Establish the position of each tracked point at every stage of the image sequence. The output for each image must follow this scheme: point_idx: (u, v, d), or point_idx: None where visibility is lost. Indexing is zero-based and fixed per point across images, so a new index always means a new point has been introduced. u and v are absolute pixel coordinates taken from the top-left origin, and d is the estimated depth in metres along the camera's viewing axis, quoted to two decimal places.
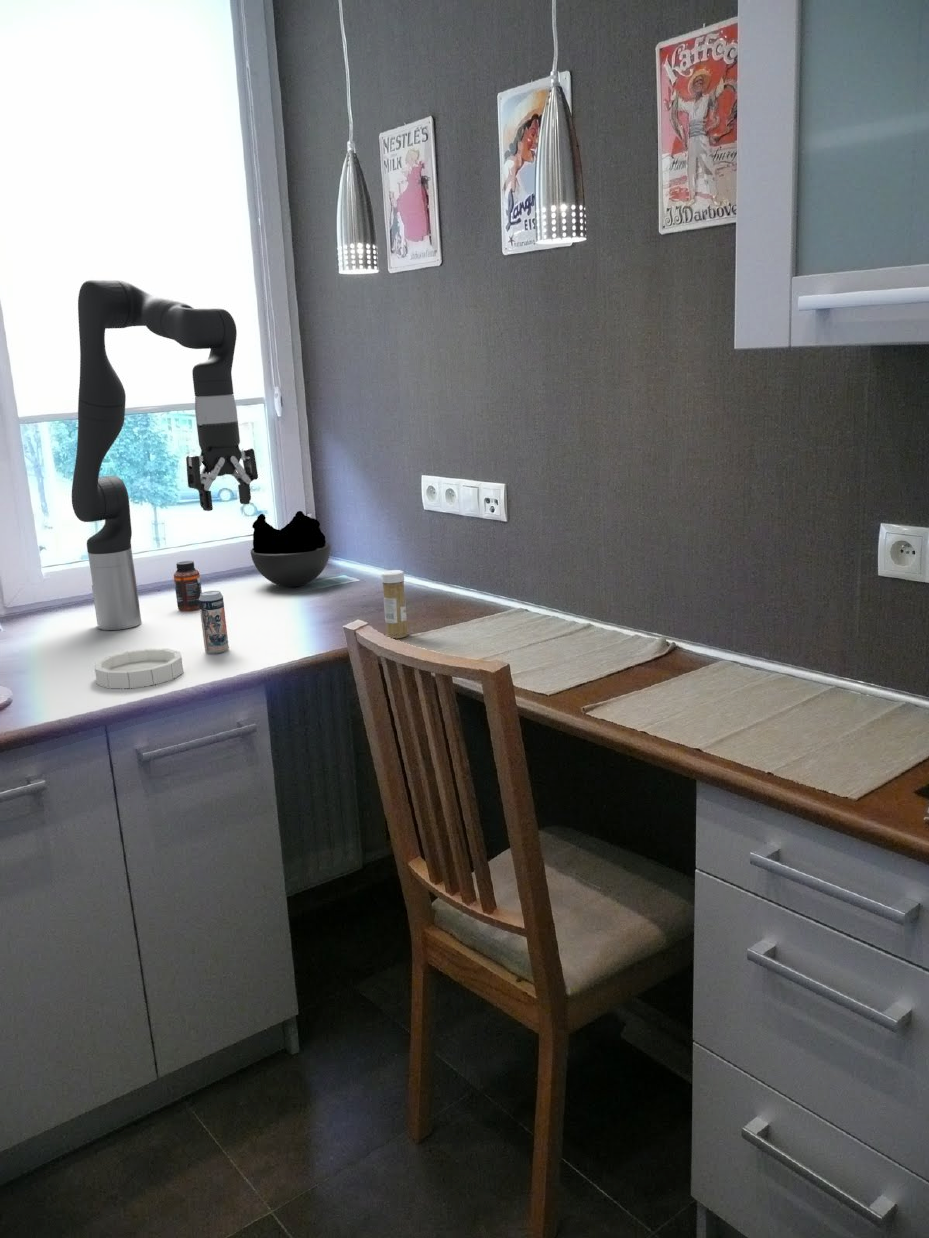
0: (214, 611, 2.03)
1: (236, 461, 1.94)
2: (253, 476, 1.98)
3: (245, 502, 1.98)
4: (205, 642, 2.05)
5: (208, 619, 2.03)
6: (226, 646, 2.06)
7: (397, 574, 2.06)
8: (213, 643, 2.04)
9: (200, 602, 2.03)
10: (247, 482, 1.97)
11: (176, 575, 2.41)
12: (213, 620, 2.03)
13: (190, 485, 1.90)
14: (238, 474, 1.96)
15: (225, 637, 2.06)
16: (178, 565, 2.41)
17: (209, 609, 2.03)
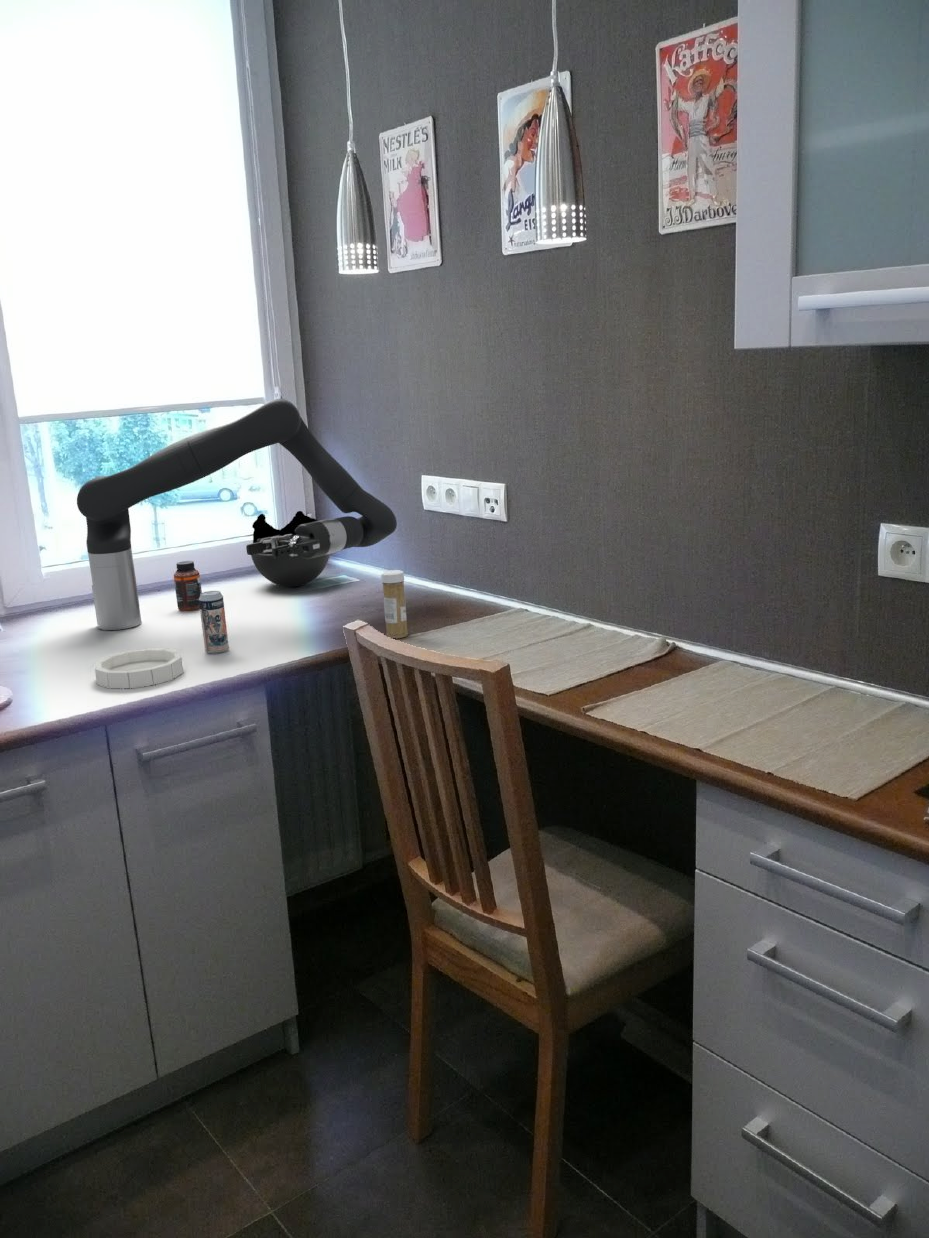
0: (214, 611, 2.03)
1: None
2: None
3: (250, 553, 2.15)
4: (205, 642, 2.05)
5: (208, 620, 2.03)
6: (226, 646, 2.06)
7: (397, 574, 2.06)
8: (213, 643, 2.04)
9: (200, 602, 2.03)
10: (263, 552, 2.18)
11: (176, 575, 2.41)
12: (213, 620, 2.03)
13: (301, 547, 2.11)
14: None
15: (225, 637, 2.06)
16: (178, 565, 2.41)
17: (209, 609, 2.03)
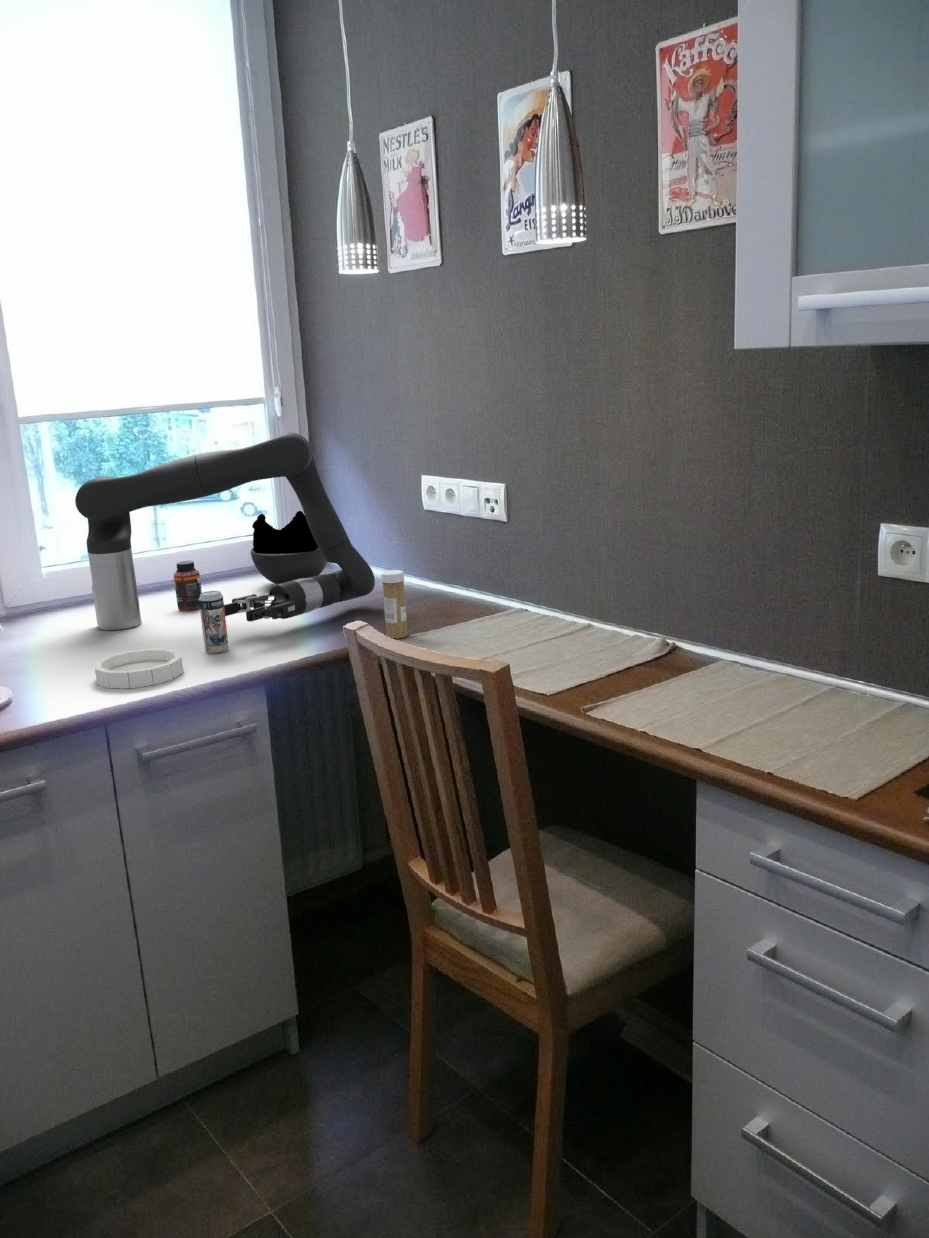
0: (214, 611, 2.03)
1: None
2: None
3: None
4: (205, 642, 2.05)
5: (208, 620, 2.03)
6: (226, 646, 2.06)
7: (397, 574, 2.06)
8: (213, 643, 2.04)
9: (200, 602, 2.03)
10: (238, 612, 2.15)
11: (176, 575, 2.41)
12: (213, 620, 2.03)
13: (275, 610, 2.08)
14: (249, 610, 2.16)
15: (225, 637, 2.06)
16: (178, 565, 2.41)
17: (209, 609, 2.03)
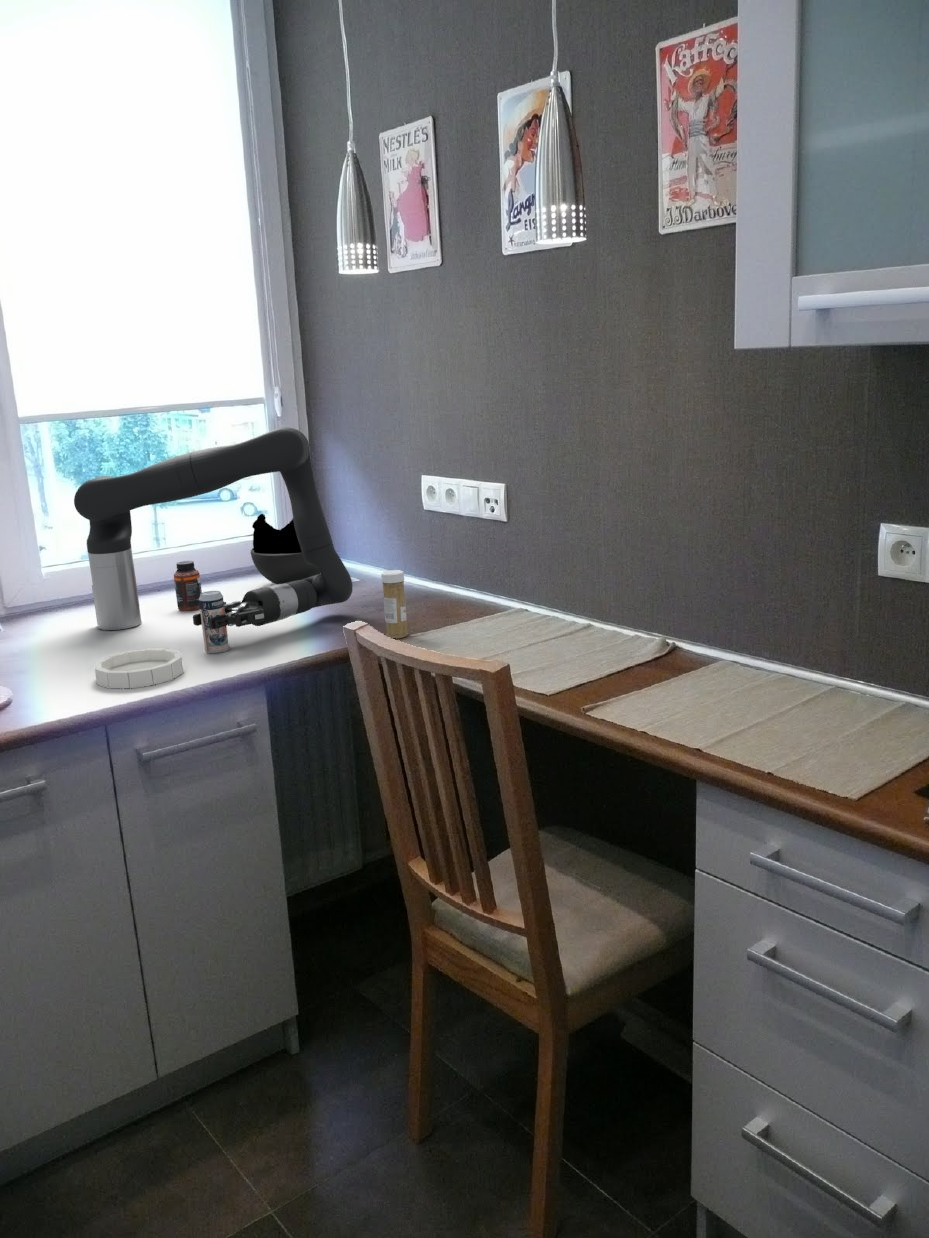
0: (214, 611, 2.03)
1: None
2: None
3: (197, 623, 2.05)
4: (205, 642, 2.05)
5: (208, 619, 2.03)
6: (226, 646, 2.06)
7: (397, 574, 2.06)
8: (213, 643, 2.04)
9: (200, 602, 2.03)
10: None
11: (176, 575, 2.41)
12: None
13: (239, 617, 2.03)
14: None
15: (225, 637, 2.06)
16: (178, 565, 2.41)
17: (209, 609, 2.03)
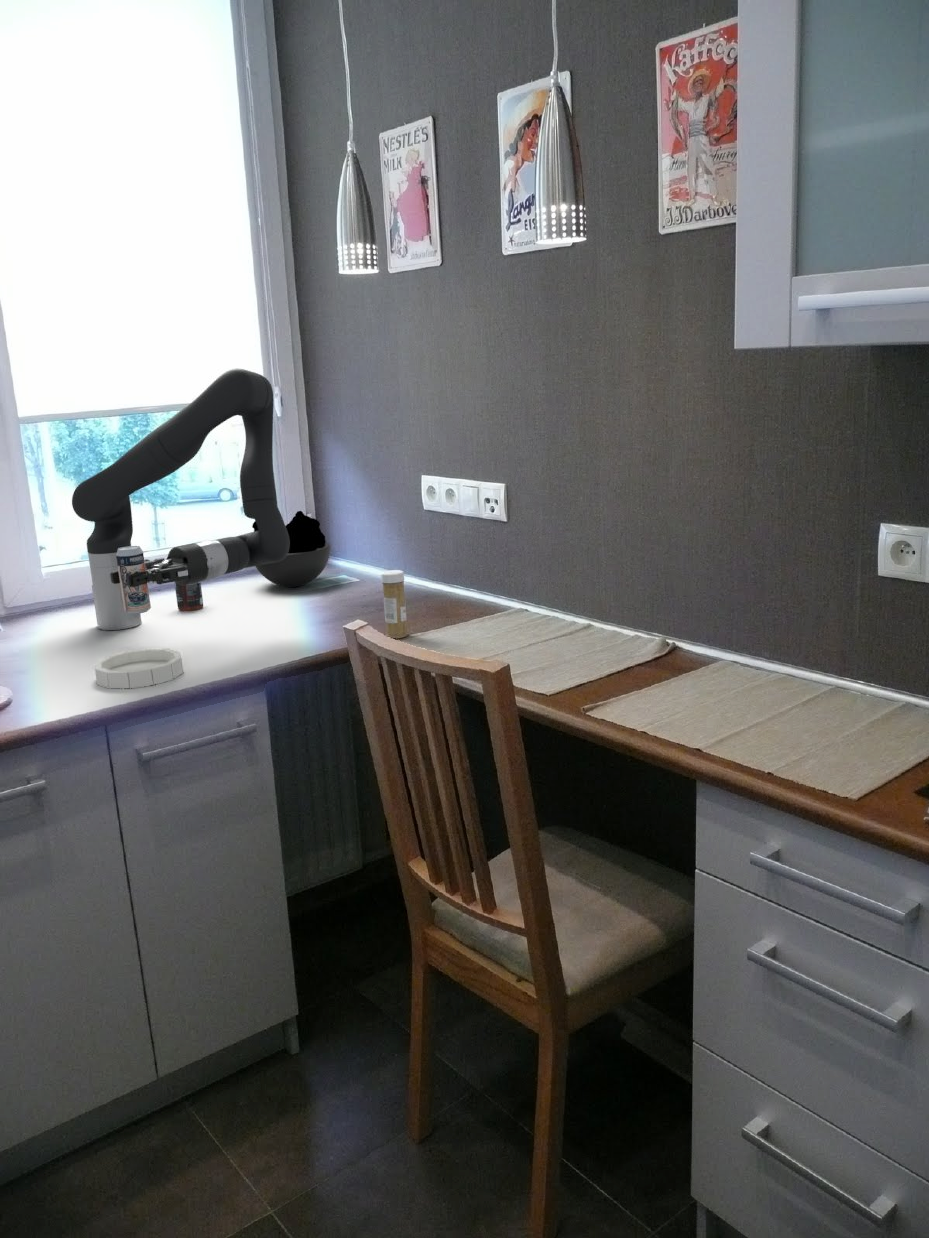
0: (133, 567, 1.87)
1: None
2: None
3: (115, 581, 1.90)
4: (124, 601, 1.89)
5: None
6: (147, 606, 1.90)
7: (397, 574, 2.06)
8: (132, 602, 1.88)
9: (117, 558, 1.87)
10: None
11: None
12: None
13: (160, 574, 1.88)
14: None
15: (146, 596, 1.90)
16: None
17: (127, 565, 1.87)
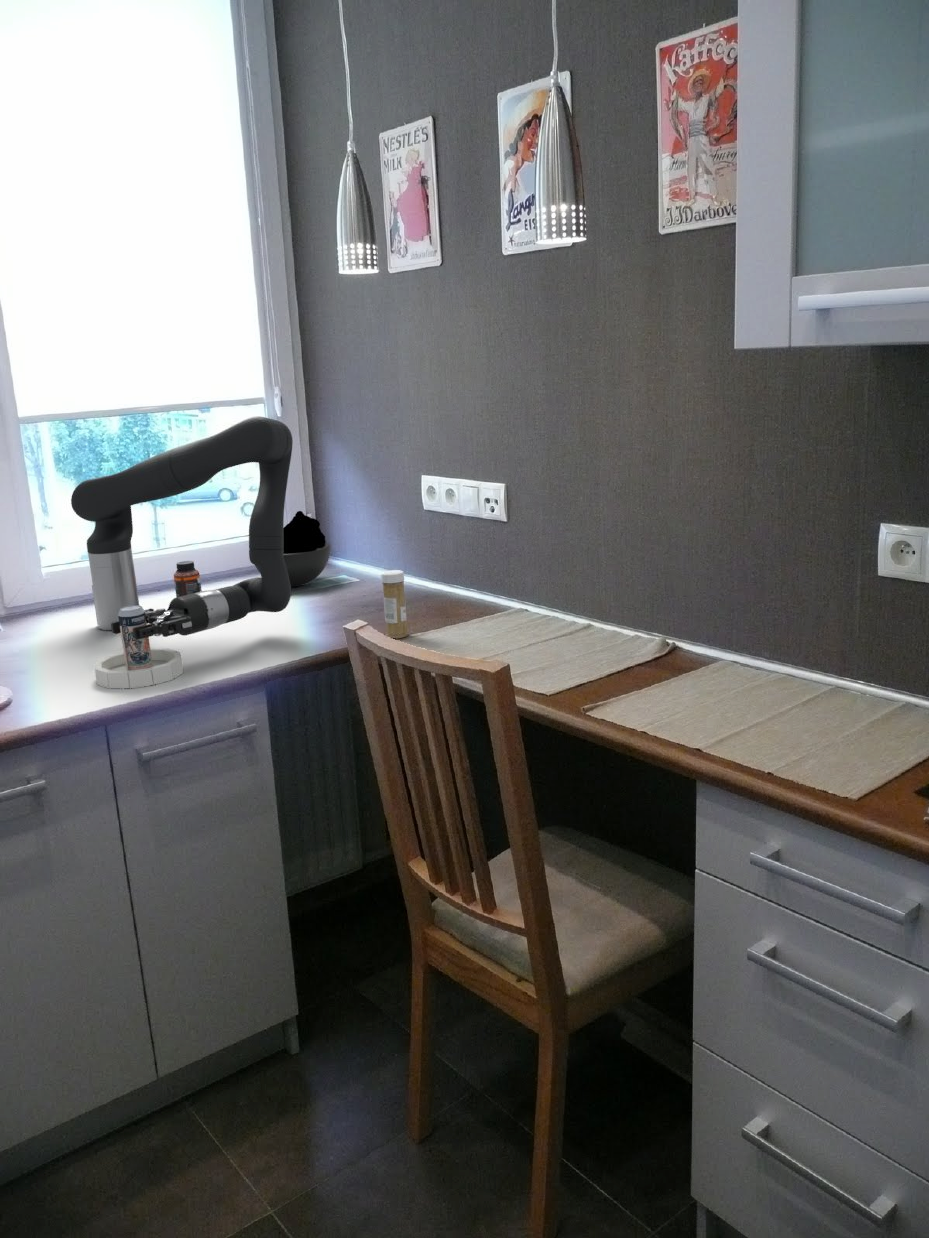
0: (134, 627, 1.89)
1: None
2: None
3: (115, 631, 1.92)
4: (126, 660, 1.91)
5: (128, 636, 1.89)
6: (149, 664, 1.92)
7: (397, 574, 2.06)
8: (134, 661, 1.91)
9: (119, 618, 1.89)
10: None
11: (176, 575, 2.41)
12: None
13: (166, 627, 1.89)
14: None
15: (148, 655, 1.92)
16: (178, 565, 2.41)
17: (129, 625, 1.89)
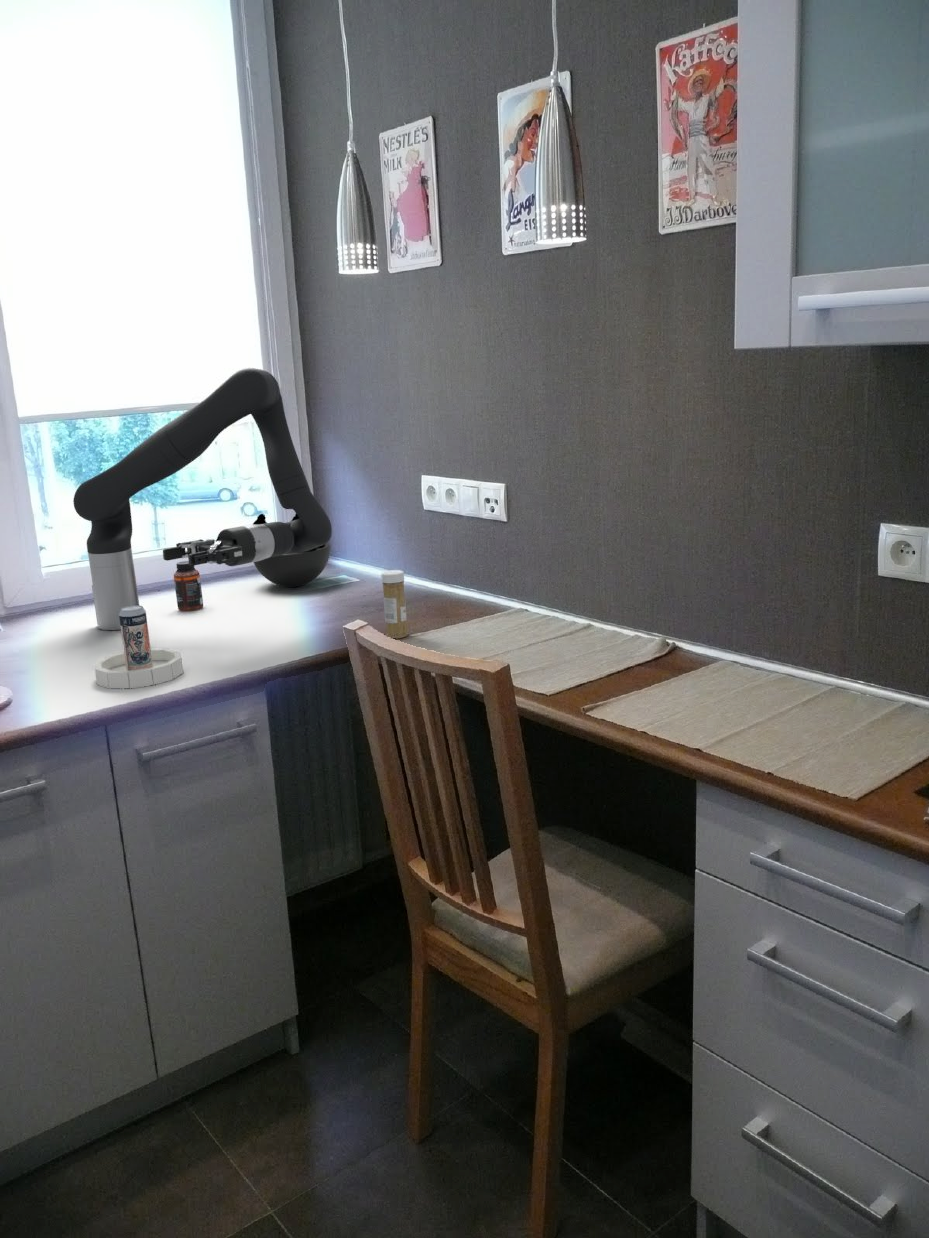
0: (135, 627, 1.89)
1: None
2: None
3: (167, 558, 1.99)
4: (126, 660, 1.91)
5: (129, 636, 1.89)
6: (149, 665, 1.92)
7: (397, 574, 2.06)
8: (135, 661, 1.91)
9: (120, 618, 1.89)
10: (182, 557, 2.03)
11: (176, 575, 2.41)
12: (134, 637, 1.89)
13: (220, 555, 1.95)
14: None
15: (148, 655, 1.92)
16: (178, 565, 2.41)
17: (130, 625, 1.89)
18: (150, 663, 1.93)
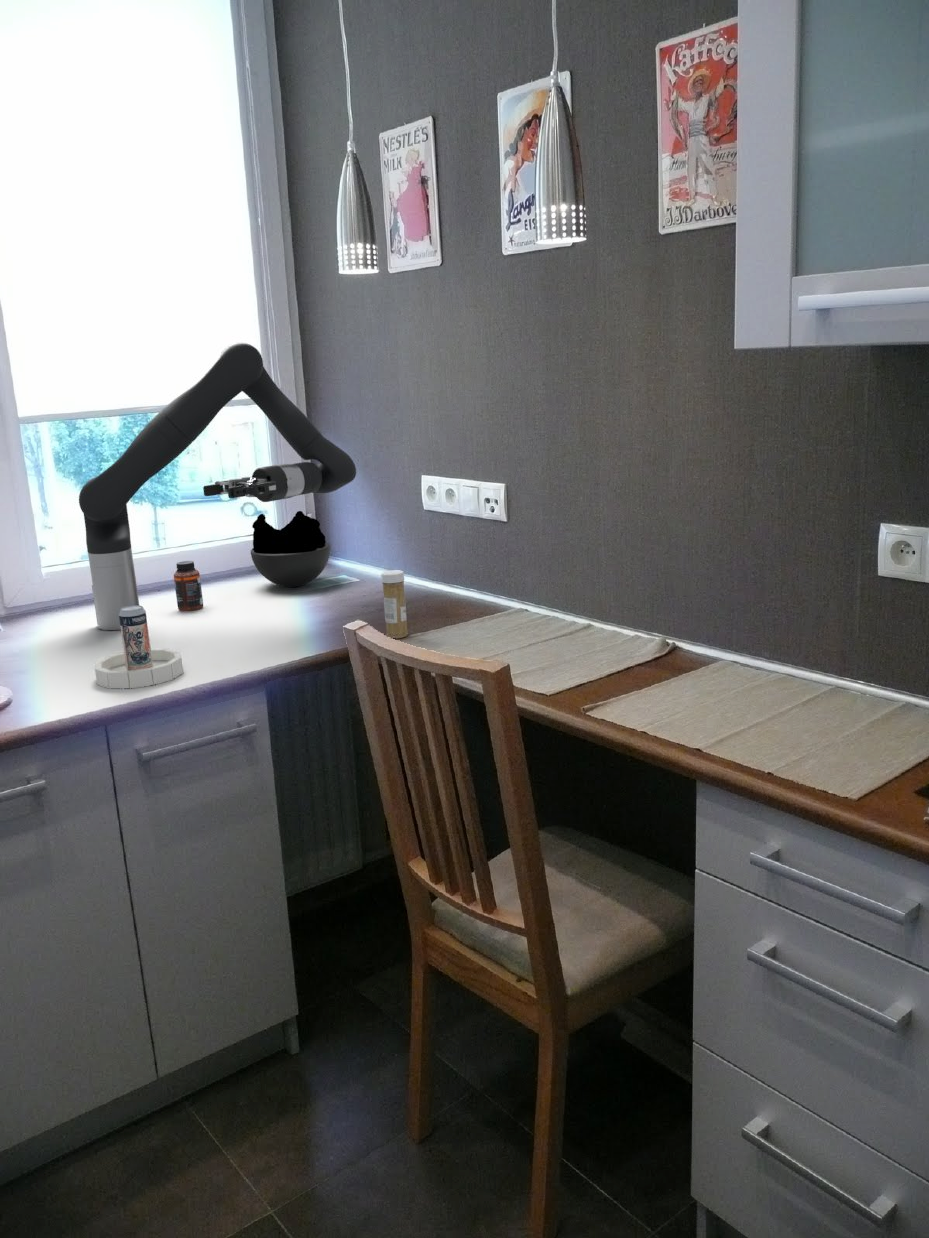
0: (135, 627, 1.89)
1: (244, 495, 2.22)
2: None
3: (207, 494, 2.17)
4: (126, 660, 1.91)
5: (129, 636, 1.89)
6: (149, 665, 1.92)
7: (397, 574, 2.06)
8: (135, 661, 1.91)
9: (120, 618, 1.89)
10: (221, 494, 2.20)
11: (176, 575, 2.41)
12: (134, 637, 1.89)
13: (256, 488, 2.13)
14: None
15: (148, 655, 1.92)
16: (178, 565, 2.41)
17: (129, 625, 1.89)
18: (150, 663, 1.93)
